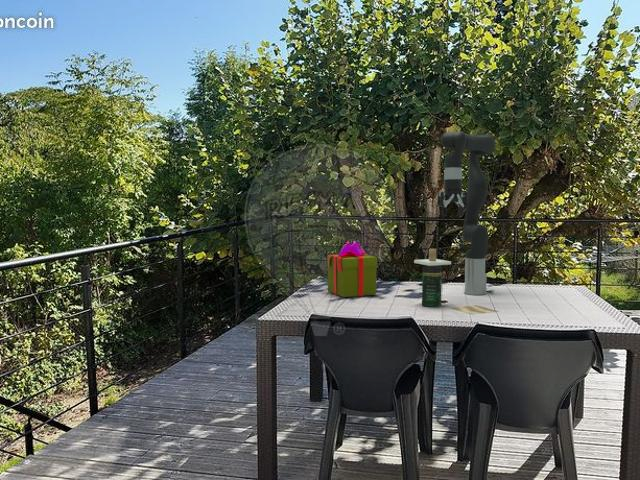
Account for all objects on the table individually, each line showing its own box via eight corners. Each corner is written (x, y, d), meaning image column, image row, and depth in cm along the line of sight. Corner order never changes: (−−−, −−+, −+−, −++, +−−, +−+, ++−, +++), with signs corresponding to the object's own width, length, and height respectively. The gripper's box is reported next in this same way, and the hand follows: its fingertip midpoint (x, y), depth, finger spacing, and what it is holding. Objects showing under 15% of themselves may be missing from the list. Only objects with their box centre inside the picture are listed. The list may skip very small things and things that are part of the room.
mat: (476, 307, 242) (476, 305, 242) (499, 313, 230) (499, 311, 230) (449, 309, 237) (449, 307, 237) (471, 316, 224) (471, 314, 224)
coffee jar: (439, 309, 237) (440, 265, 235) (420, 308, 239) (420, 264, 238) (442, 305, 246) (443, 262, 244) (424, 304, 248) (424, 261, 247)
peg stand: (435, 261, 248) (435, 247, 248) (451, 264, 238) (451, 249, 238) (414, 262, 244) (414, 248, 243) (429, 265, 234) (429, 250, 233)
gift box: (321, 293, 276) (321, 241, 274) (354, 289, 288) (354, 239, 286) (348, 299, 259) (348, 244, 257) (382, 294, 272) (382, 242, 270)
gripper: (460, 178, 254) (459, 215, 255) (434, 178, 248) (433, 216, 249) (471, 178, 247) (471, 216, 248) (445, 178, 241) (444, 216, 242)
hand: (452, 216), depth 249 cm, fingers open, 8 cm apart
